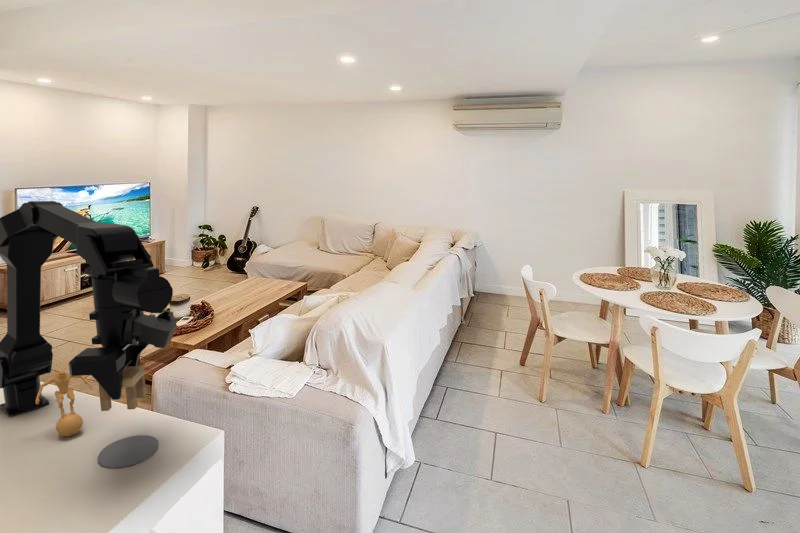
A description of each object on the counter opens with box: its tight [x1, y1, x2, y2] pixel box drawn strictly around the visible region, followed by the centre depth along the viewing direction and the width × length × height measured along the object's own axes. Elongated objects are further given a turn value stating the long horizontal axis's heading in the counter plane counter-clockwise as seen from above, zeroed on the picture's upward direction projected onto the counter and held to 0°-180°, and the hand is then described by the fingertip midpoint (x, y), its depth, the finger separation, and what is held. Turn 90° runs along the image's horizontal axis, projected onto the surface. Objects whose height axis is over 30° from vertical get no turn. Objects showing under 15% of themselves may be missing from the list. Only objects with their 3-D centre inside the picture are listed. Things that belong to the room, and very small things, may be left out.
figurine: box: [36, 370, 93, 437], centre depth 78 cm, size 8×6×12 cm
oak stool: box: [97, 365, 147, 412], centre depth 72 cm, size 5×5×6 cm
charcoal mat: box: [97, 434, 159, 469], centre depth 74 cm, size 9×9×1 cm
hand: (123, 391), depth 72 cm, fingers closed on oak stool, 5 cm apart
